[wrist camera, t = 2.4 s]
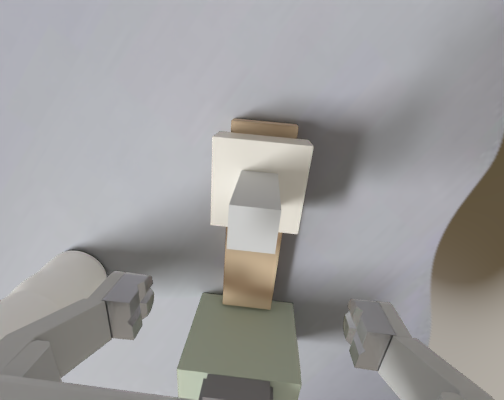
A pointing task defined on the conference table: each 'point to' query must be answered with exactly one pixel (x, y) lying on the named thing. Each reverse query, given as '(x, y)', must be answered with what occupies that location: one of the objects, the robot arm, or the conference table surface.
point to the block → (246, 262)
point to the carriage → (258, 187)
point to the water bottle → (51, 290)
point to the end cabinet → (240, 353)
